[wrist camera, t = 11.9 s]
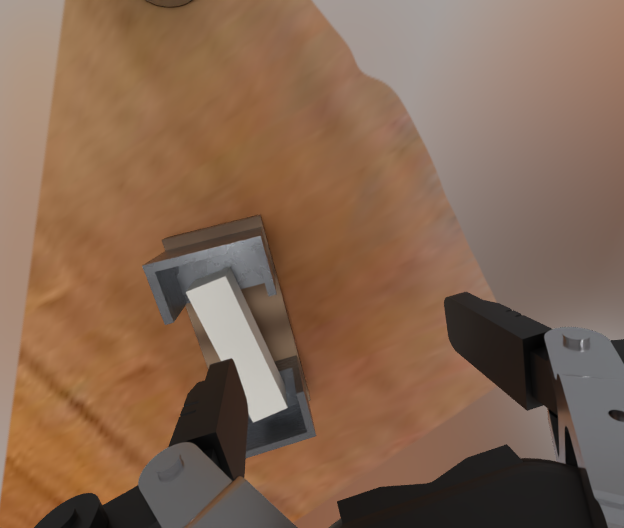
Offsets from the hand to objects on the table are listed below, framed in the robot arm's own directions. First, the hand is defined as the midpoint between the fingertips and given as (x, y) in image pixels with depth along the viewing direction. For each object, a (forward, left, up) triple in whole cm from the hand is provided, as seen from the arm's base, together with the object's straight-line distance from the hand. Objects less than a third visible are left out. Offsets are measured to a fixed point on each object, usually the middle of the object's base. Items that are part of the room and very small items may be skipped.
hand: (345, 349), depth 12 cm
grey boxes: (+9, -8, -26) cm, 29 cm away
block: (+9, -8, -24) cm, 26 cm away
